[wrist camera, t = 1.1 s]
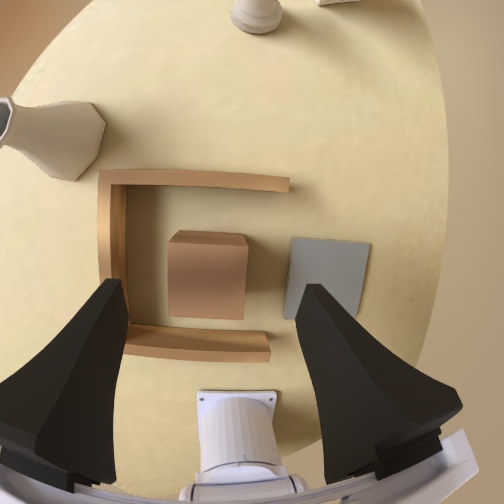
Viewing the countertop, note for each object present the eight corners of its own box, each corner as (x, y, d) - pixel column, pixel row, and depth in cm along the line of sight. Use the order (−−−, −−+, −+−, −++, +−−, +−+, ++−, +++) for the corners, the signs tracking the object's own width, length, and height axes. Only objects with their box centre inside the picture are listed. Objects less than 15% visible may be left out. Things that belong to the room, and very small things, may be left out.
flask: (66, 90, 17) (1, 54, 8) (121, 119, 19) (60, 81, 9) (29, 160, 18) (-46, 156, 9) (78, 196, 20) (2, 206, 10)
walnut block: (238, 292, 23) (243, 319, 18) (178, 290, 23) (168, 316, 18) (242, 233, 22) (248, 246, 17) (179, 230, 22) (167, 242, 17)
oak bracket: (263, 340, 24) (269, 362, 21) (121, 331, 23) (109, 351, 19) (278, 179, 21) (289, 177, 18) (116, 172, 20) (99, 170, 16)
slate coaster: (353, 314, 25) (356, 317, 24) (282, 316, 24) (284, 318, 24) (366, 242, 23) (369, 243, 23) (291, 236, 23) (293, 238, 22)
